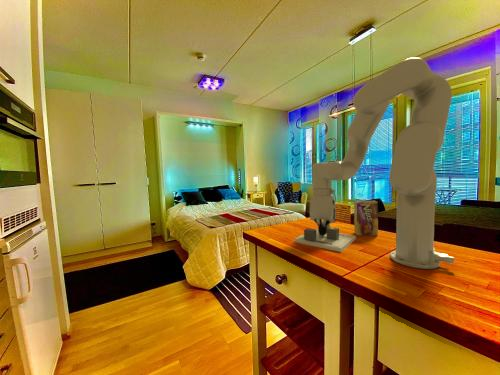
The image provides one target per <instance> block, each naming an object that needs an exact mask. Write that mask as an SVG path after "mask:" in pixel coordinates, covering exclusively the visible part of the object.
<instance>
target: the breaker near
mask: <svg viewBox="0 0 500 375" xmlns="http://www.w3.org/2000/svg"><path fill="white" fill-rule="evenodd" d="M303 234H304V239H305V240H310V241H315V240H316V239H317V237H316V230H315V228H310V227H309V228H308V227H307V228H304V229H303Z"/></svg>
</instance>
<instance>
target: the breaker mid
mask: <svg viewBox="0 0 500 375" xmlns="http://www.w3.org/2000/svg"><path fill="white" fill-rule="evenodd" d="M339 233H340V228H338V227H335V226H330V227H328V228H327V238H330V239H335V240H337V239H338V238H339Z"/></svg>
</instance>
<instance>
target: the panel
mask: <svg viewBox="0 0 500 375" xmlns="http://www.w3.org/2000/svg"><path fill="white" fill-rule="evenodd" d="M314 229H315V228H314ZM315 230H316V237H317V239H316V240H315V241H310V240H305V239H304V233H303V234H301V235H299V236H297V237H296V238H294V243H299V244H302V245H306V246H311V247H316V248H321V249H324V250H330V251H333V252H339V253H342V252H343V251H344V250H346V249H347V248H348V247H349V246H350V245H351V244H352V243H354V242H355V241H356V239H357V236H356V235H354V234H353V235H352V234H345V233H340V232H339V238H338V239H337V240H335V239H330V238H327V233H326V235H324V236H322V235H321V236H320V235H319V232H318V228H317V229H315Z"/></svg>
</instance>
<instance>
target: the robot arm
mask: <svg viewBox="0 0 500 375" xmlns="http://www.w3.org/2000/svg"><path fill="white" fill-rule="evenodd" d="M401 94H402V95H403V96H404V97H407V98H410V99H412V100H413V101H414V105H413V109H412V112H411V117H410V122H409V124H408V125H406V127H404V128H403V129H402V130H401V132H400V133H399V134H398V137H397V139H396V141H395V145H394V150H393V155H392V156H393V157H392V160H391V165H390V166H391V167H390V172H389V183H390V185H391V187H392V188H393V189H394V190H395V191H396V192H397V196H396V213H395V214H396V215H395V216H396V218H395V220H396V223H395V225H396V227H395V228H396V229H395V250H393V251H391V252H390V255H389V256H390V257H389V258H391V259H392V261H394V262H395V263H398V264H400V265H403V266H406V267H409V268H410V267H411V268H415V269H423V270H432V269H433V270H434V269H437V268H439V267H440V265H441V263H440V262H442V263H448V264H451V265H453V264H454V262H455V260H454V259H455V257H454V256H449V255H448V254H447V253H440V252H438V251H435V250H436V248H435V247H434V242H435V241H434V238H435V213H436V194H437V186H438V185H437V182H438V177H437V173H436V171H435V169H434V166H435V162H436V158H437V155H438V152H439V151H440V149H441V148H442V147H443V144H444V140H445V133H446V132H445V131H446V128H447V123H448V120H449V115H450V114H449V112H450V109H451V104H452V97H453V92H452V87H451V84H450V83H449V81H448V80H447V79H446V78H444V77H443V76H441V75H439V74H437V73H436V72H434V71H433V70H432V69H431V67H430V65H429V64H428V63H427V62H426V60H425V59H422V58H421V57H409V58H406V59H404V60H401V61H399V62H398V63H396V64H395V65H393V66H391V67H389V68H388V69H387V70H385V71H384V72H382V73H381V74H379V75H378V76H376V77H374V78H373V79H371V80H369V81H368V82H367V83H365V84H364V85H362V87H360V88H359V89H358V90H357V91H356V93H355V95H354V96H353V101H352V105H353V107H354V109H355V110H356V112H355V115H354V116H353V118H352V120H351V122H350V125H349V127H348V128H347V130H346V138H347V141H348V147H347V152H346V154H345V156H344V158H343V159H342V160H336V161H330V162H316V163H313V165H312V168H311V169H312V170H311V171H312V195H311V197H310V201H309V202H310V203H309V220H311V221H313V222H314V223H315V224H316V226H317V230H318V232H319V235H320V236H321V235H322V236H324V235H326V233H327V225H328V224H329V223H330V224H334V223H336V218H337V206H336V200H335V196H334V195H333V194H335V193H336V190H335V189H333V188H332V186H333V185H332V181H336V182H338V181H344V180H345V181H346V180H351V179H353V177H355V176H356V175H357V173H358V171H359V169H360V168H361V166H362V164H363V163H364V161H365V158H366V155H367V152H368V149H369V147H370V142H371V139H372V137H373V135H374V134H375V132H376V130H377V128H378V126H379V124H380V123H381V121H382V119H383V118H384V116H385V114H386V112H387V110H388V108H389V105H390V102H391V100H392V99H394V98H396V97H398V96H401ZM322 222H323V224H322Z"/></svg>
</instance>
